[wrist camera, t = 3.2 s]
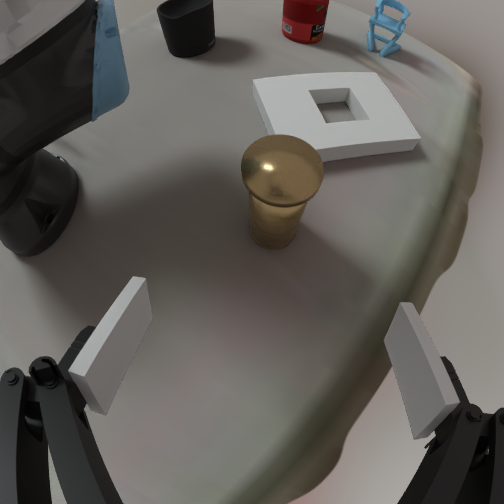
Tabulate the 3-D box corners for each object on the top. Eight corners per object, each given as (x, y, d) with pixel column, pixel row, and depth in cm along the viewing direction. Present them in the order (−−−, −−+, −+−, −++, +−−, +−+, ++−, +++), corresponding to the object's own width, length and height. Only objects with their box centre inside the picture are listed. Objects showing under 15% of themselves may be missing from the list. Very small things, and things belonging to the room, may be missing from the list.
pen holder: (180, 65, 41) (170, 19, 31) (159, 47, 43) (148, 7, 34) (227, 46, 43) (223, 1, 33) (201, 30, 45) (196, -10, 35)
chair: (357, 45, 43) (370, -2, 32) (367, 33, 45) (379, -9, 34) (393, 62, 42) (411, 17, 31) (400, 48, 44) (416, 7, 33)
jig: (281, 169, 34) (283, 154, 31) (252, 94, 38) (252, 79, 35) (412, 150, 35) (420, 138, 32) (370, 85, 39) (375, 72, 37)
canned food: (318, 48, 42) (326, 0, 32) (276, 38, 43) (279, -9, 33) (325, 32, 45) (333, -11, 34) (287, 23, 45) (290, -19, 35)
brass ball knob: (253, 259, 31) (252, 211, 19) (239, 209, 32) (233, 142, 21) (307, 246, 31) (335, 193, 20) (291, 197, 33) (307, 129, 21)
